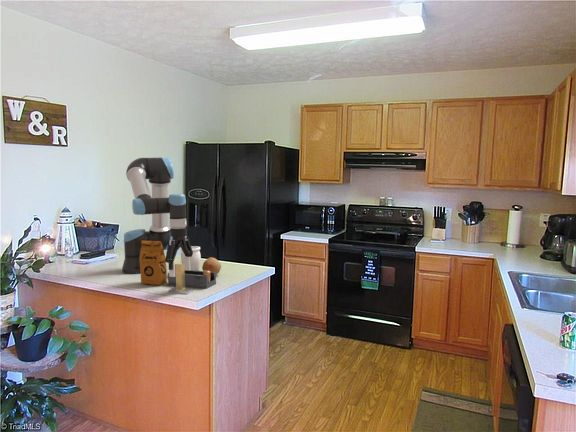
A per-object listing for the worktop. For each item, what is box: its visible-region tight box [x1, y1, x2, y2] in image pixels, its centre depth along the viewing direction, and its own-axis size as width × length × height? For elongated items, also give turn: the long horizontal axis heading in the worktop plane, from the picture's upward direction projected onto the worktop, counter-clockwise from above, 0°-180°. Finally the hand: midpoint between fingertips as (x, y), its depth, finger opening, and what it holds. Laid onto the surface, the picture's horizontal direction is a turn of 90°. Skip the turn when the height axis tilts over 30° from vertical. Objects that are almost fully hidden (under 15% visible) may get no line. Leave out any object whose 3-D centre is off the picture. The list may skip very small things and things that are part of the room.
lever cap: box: [168, 263, 194, 295], centre depth 199 cm, size 10×5×13 cm, turn 71°
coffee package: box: [139, 241, 168, 286], centre depth 214 cm, size 10×12×22 cm
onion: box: [201, 257, 222, 276], centre depth 229 cm, size 10×10×10 cm
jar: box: [180, 245, 202, 271], centre depth 232 cm, size 11×10×15 cm
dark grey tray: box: [167, 263, 217, 290], centre depth 212 cm, size 22×9×9 cm, turn 71°
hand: (180, 273), depth 199 cm, fingers open, 12 cm apart
